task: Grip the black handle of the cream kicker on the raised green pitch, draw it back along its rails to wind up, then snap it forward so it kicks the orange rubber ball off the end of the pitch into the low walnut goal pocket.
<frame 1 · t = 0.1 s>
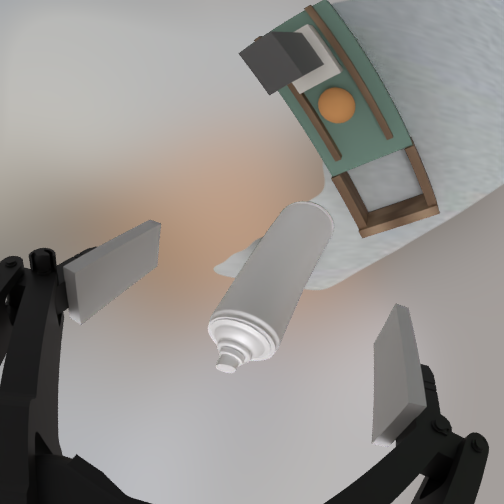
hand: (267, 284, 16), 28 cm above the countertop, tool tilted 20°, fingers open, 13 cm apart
pitch: (335, 86, 32), on the countertop
spray can: (298, 230, 48), on the countertop
rails: (330, 79, 32), resting on pitch
kicker: (295, 61, 24), point 10 cm above the countertop, slide at 2.0 cm
goal: (385, 178, 37), on the countertop
ball: (336, 105, 29), point 5 cm above the countertop, touching pitch
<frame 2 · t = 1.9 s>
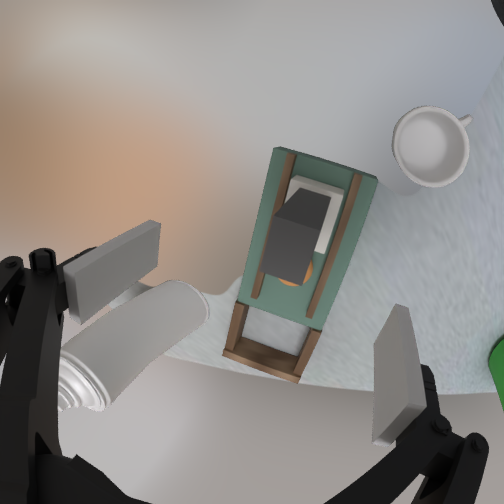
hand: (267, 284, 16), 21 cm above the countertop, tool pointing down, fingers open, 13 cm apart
pitch: (305, 238, 36), on the countertop
spray can: (173, 302, 47), on the countertop
rails: (307, 230, 36), resting on pitch
teacup: (428, 139, 28), on the countertop
kicker: (302, 228, 26), point 10 cm above the countertop, slide at 2.0 cm
goal: (276, 326, 42), on the countertop
ball: (293, 267, 32), point 5 cm above the countertop, touching pitch
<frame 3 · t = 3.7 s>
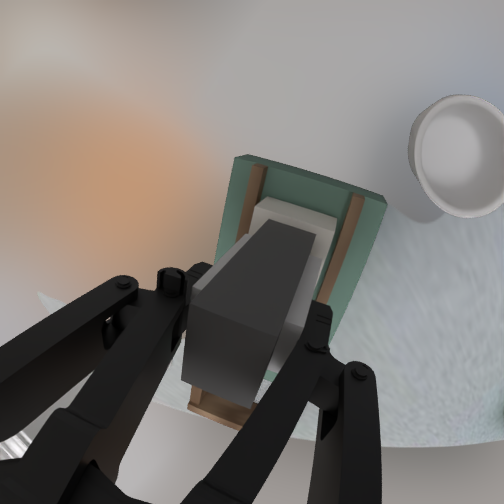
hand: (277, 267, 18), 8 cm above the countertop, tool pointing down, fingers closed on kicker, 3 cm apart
pitch: (284, 278, 27), on the countertop
spray can: (132, 341, 37), on the countertop
rails: (287, 269, 27), resting on pitch
teacup: (455, 144, 19), on the countertop
kicker: (267, 289, 16), point 10 cm above the countertop, slide at 2.0 cm, touching gripper
goal: (251, 378, 33), on the countertop
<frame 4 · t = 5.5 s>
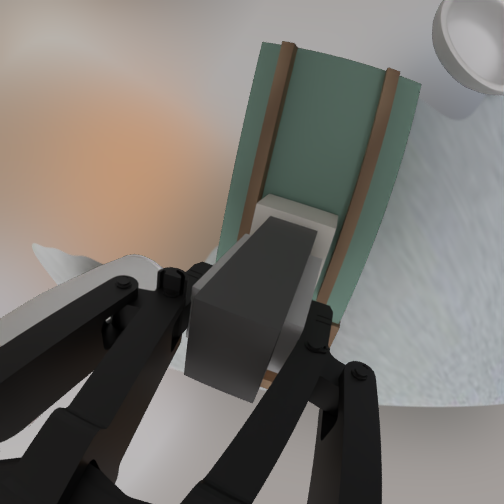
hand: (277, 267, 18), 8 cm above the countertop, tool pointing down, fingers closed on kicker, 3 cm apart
pitch: (313, 182, 23), on the countertop
spray can: (133, 285, 34), on the countertop
rails: (316, 170, 23), resting on pitch
teacup: (474, 48, 15), on the countertop
kicker: (269, 285, 17), point 10 cm above the countertop, slide at 10.6 cm, touching gripper
goal: (271, 319, 29), on the countertop
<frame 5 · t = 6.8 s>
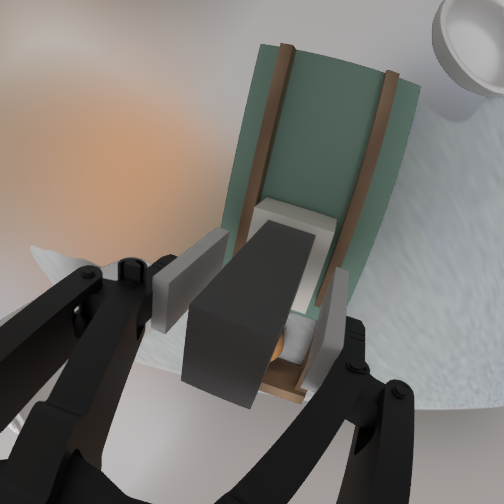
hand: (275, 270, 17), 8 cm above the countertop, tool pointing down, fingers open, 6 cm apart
pitch: (311, 185, 23), on the countertop
spray can: (131, 288, 34), on the countertop
rails: (315, 172, 23), resting on pitch
teacup: (474, 50, 15), on the countertop
kicker: (267, 289, 16), point 10 cm above the countertop, slide at 10.6 cm
goal: (270, 322, 29), on the countertop
ball: (262, 342, 28), point 2 cm above the countertop, tilted 16°
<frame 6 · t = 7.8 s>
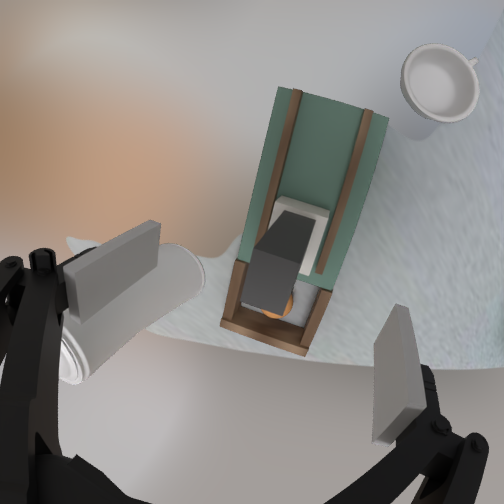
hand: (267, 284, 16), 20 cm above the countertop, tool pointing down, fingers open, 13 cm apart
pitch: (312, 187, 33), on the countertop
spray can: (165, 269, 42), on the countertop
rails: (314, 178, 32), resting on pitch
teacup: (435, 84, 25), on the countertop
kicker: (285, 253, 26), point 10 cm above the countertop, slide at 10.6 cm
goal: (280, 292, 38), on the countertop
ball: (276, 301, 37), point 2 cm above the countertop, tilted 35°
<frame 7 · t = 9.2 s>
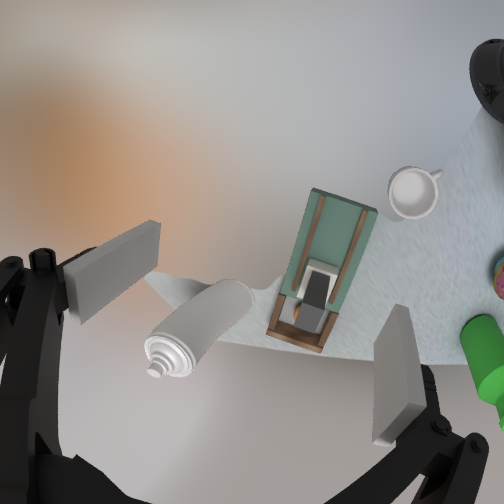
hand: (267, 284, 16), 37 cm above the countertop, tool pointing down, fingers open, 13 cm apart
pitch: (327, 249, 52), on the countertop
spray can: (225, 296, 63), on the countertop
rails: (329, 244, 52), resting on pitch
teacup: (412, 183, 44), on the countertop
kicker: (313, 297, 45), point 10 cm above the countertop, slide at 10.6 cm
bottle: (477, 330, 48), on the countertop
goal: (305, 312, 58), on the countertop
ball: (304, 314, 56), point 2 cm above the countertop, tilted 63°
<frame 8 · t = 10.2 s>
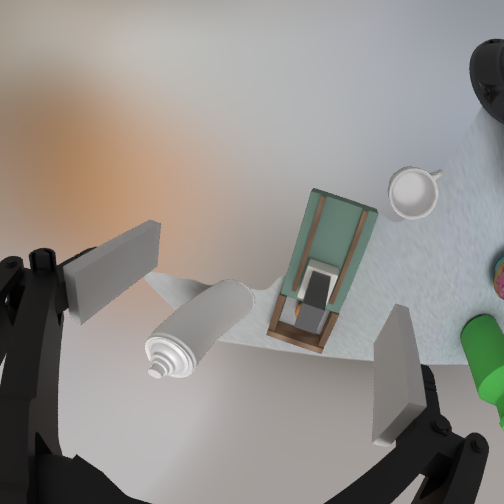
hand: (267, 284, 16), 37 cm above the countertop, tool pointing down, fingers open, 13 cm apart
pitch: (328, 250, 52), on the countertop
spray can: (226, 296, 63), on the countertop
rails: (330, 244, 52), resting on pitch
teacup: (412, 184, 44), on the countertop
kicker: (314, 297, 46), point 10 cm above the countertop, slide at 10.6 cm
bottle: (478, 330, 48), on the countertop
goal: (305, 312, 58), on the countertop
ball: (306, 312, 56), point 2 cm above the countertop, tilted 83°
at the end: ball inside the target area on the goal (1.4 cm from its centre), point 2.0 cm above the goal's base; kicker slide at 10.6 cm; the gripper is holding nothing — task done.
